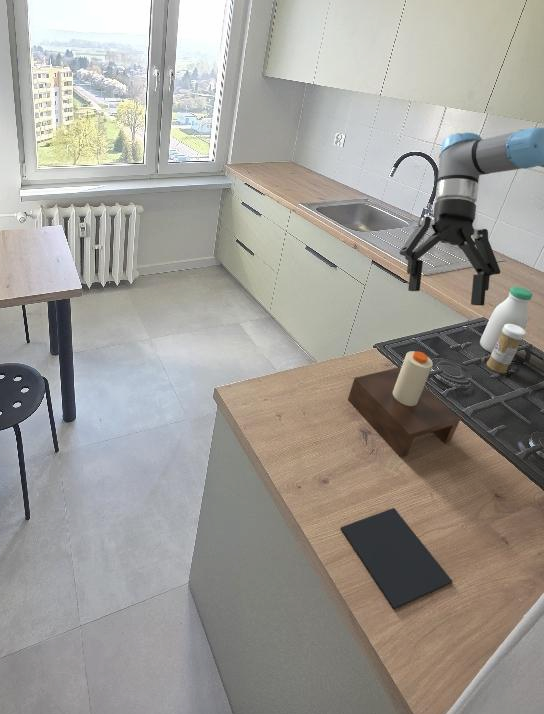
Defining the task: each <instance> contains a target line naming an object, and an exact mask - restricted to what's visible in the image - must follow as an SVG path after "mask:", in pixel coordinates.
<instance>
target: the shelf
mask: <svg viewBox="0 0 544 714" xmlns="http://www.w3.org/2000/svg"><path fill="white" fill-rule="evenodd" d="M401 368H402V366H398V367H393V368H389V369H385V370H382V371H377V372H373V373H369V374H365V375H361V376H356V377H354V378H353V380H352V381H353V382H352V385H351V388H350V391H349V395H348V397H347V400H348V402H349V403H350V404H351V405H352V406H353V407H354V409H356V410H357V412H358V413H359V414H360V415H361V416H362V417H363V418H364V419H365V420H366V422H367V423H368V424H369V425H370V426H371V427H372V428H373V429H374V430H375V431H376V432H377V434H378V435H379V436H380V437H381V438H382V439H383V440H384V442H386V443H387V445H388V446H389V447H390V448H391V449H392V450H393V451H394V452H395V453H396V454H397V455H398V457H399V458H405V457H407V455H408V453H409V451H410V448H411V446H412V443H413V441H414V439H415V438H417V437H420V436H423V435H427V434H429V433H433V434H434V435H435V436H436V437H437V438H438V439H439V440H440V441H441V442H443V444H447V443H450V442H451V440H453V439H452V438H453V437H454V435H455V432H456V430H457V428H458V425H459V423H460V421H461V418H460V417H459V416H458V415H457V414H456V413H454V411H452V410H451V409H450V408H449V407H448V406H447V405H445V404H444V403H443V402H442V401H441V400H440V399H439V398H438V397H436V396H435V395H434V394H432V392H430V391H429V390H428V389H427V388H426V387H424V388H423V390H422V393H421V395H420V398H419V400H418V403H417V404H416V405H415V406H407V405H404V404H402V403H400V402H399V401H397V400H396V399H395V397H394V396H393V390H394V387H395V384H396V381H397V379H398V376H399V373H400V370H401Z"/></svg>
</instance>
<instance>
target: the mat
mask: <svg viewBox="0 0 544 714" xmlns="http://www.w3.org/2000/svg"><path fill="white" fill-rule="evenodd" d="M340 530H341V532H342V533H343V535H344V536H345V538H346V540H347V541H348V543H349V544H350V545H351V547H352V549H353V550H354V552H355V553H356V555H357V556H358V558H359V559H360V561H361V562H362V564H363V565H364V567H365V569H366V570H367V572H368V573H369V574H370V576H371V577H372V579H373V580H374V582H375V584H376V585H377V586H378V588H379V589H380V591H381V593H382V594H383V596H384V598H385V599H386V601H387V602H388V603H389V605H390V606H391V608H392V610H397V609H398V608H401V607H403V606H405V605H407V604H409V603H411V602H413V601H415V600H418V599H420V598H422V597H424V596H427V595H429V594H431V593H433V592H436V591H437V590H439V589H442V588H444V587H446V586H449V585H450V584H452V583H453V580H452V579H451V577H450V576H449V574H447V572H446V571H445V570H444V568H443V567H442V566H441V565H440V563H439V562H438V561H437V559H436V558H435V557H434V556H433V555H432V553H431V552H430V551H429V550H428V548H427V547H426V546H425V545H424V543H423V542H422V541H421V539H419V537H418V536H417V535H416V533H415V532H414V531H413V530H412V529H411V527H410V526H409V524H407V522H406V521H405V519H403V517H402V516H401V514H400V513H399V512H398V511H397V510H396V509H395V507H392V508H389V509H387V510H384V511H381V512H379V513H377V514H373V515H370V516H368V517H365V518H363V519H360V520H357V521H354V522H351V523H349V524H346V525H344V526H340Z"/></svg>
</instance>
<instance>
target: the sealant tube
mask: <svg viewBox="0 0 544 714" xmlns="http://www.w3.org/2000/svg"><path fill="white" fill-rule="evenodd" d="M433 364H434V363H433V361H432V359H431V358H430V357H429V356H427V354H425V353H424V352H422V351H414V350H412V351H408V352H406V354H405V356H404V359H403V362H402V365H401V370H400V373H399V376H398V379H397V381H396V384H395V387H394V390H393V396H394V397H395V399H396V400H397V401H399V402H400V403H402V404H404V405H407V406H415V405H416V404H417V403H418V400H419V398H420V395H421V393H422V390H423V388H425V385H426V383H427V380H428V377H429V375H430V373H431V370H432V368H433V366H434V365H433Z"/></svg>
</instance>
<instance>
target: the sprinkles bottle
mask: <svg viewBox="0 0 544 714" xmlns="http://www.w3.org/2000/svg"><path fill="white" fill-rule="evenodd" d="M526 335H527V332H526V330H525V329H522V328H521V327H519V326H517V325H514V324H505V325H504V327H503V329H502V333H501V336H500V338H499V340H498V342H497V343H496V345H495V347H494V349H493V351H492V353H490V356H489V358H488V360H487V361H486V366H487V368H489V369H490V370H491V371H493V372H495V373H500V374H506V373H507V372H508V368H509V366H510V364H511V363H512V361H513V360H514V357H515V355H516V353H517V352H518V350H519V347H520V345H521V343H522V341H523V340H524V339H525V337H526Z"/></svg>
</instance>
